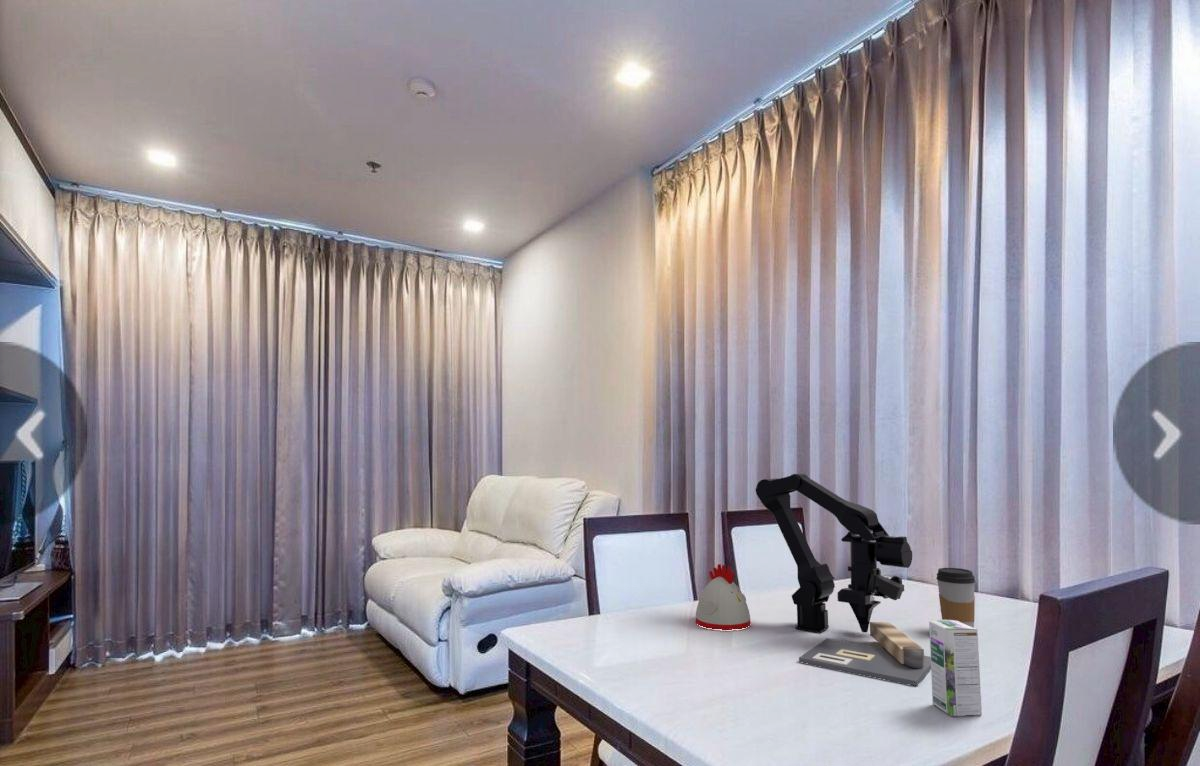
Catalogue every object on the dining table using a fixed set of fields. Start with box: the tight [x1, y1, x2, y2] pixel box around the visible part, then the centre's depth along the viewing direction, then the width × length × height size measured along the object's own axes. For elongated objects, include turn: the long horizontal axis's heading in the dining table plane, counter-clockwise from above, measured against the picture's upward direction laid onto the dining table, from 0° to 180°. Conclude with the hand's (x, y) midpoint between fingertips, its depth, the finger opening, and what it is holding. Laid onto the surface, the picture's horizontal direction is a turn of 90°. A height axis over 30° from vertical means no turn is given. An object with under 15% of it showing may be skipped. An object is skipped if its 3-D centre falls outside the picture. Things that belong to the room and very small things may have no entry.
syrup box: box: [928, 619, 983, 717], centre depth 113 cm, size 6×6×14 cm
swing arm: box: [869, 621, 925, 668], centre depth 141 cm, size 22×4×3 cm, turn 175°
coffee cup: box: [936, 567, 976, 628], centre depth 157 cm, size 8×8×15 cm
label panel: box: [798, 638, 931, 687], centre depth 137 cm, size 23×17×1 cm
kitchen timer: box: [695, 563, 752, 630], centre depth 168 cm, size 14×14×15 cm
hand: (864, 632), depth 151 cm, fingers closed
